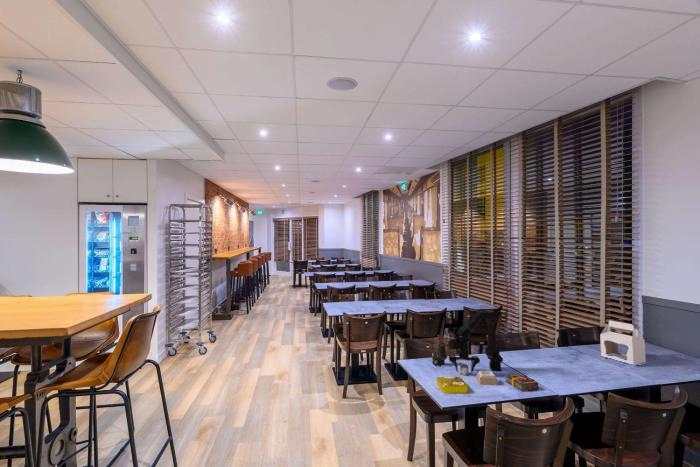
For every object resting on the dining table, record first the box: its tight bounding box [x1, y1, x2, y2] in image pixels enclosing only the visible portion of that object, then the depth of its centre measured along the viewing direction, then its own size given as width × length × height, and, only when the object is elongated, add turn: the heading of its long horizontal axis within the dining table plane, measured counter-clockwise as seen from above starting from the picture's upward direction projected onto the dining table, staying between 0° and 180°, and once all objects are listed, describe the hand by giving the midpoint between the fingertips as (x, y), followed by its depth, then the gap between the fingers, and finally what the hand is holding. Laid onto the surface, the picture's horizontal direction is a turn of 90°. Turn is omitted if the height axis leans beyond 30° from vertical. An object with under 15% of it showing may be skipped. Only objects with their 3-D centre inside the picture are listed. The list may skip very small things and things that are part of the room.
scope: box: [431, 343, 448, 367], centre depth 240 cm, size 8×14×10 cm
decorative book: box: [504, 373, 539, 393], centre depth 201 cm, size 11×16×5 cm
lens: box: [459, 363, 469, 377], centre depth 220 cm, size 5×5×6 cm
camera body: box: [476, 370, 498, 386], centre depth 207 cm, size 10×8×6 cm
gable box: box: [599, 320, 646, 365], centre depth 245 cm, size 22×13×28 cm, turn 20°
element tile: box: [436, 376, 469, 394], centre depth 199 cm, size 15×15×5 cm
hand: (464, 372), depth 220 cm, fingers open, 9 cm apart
